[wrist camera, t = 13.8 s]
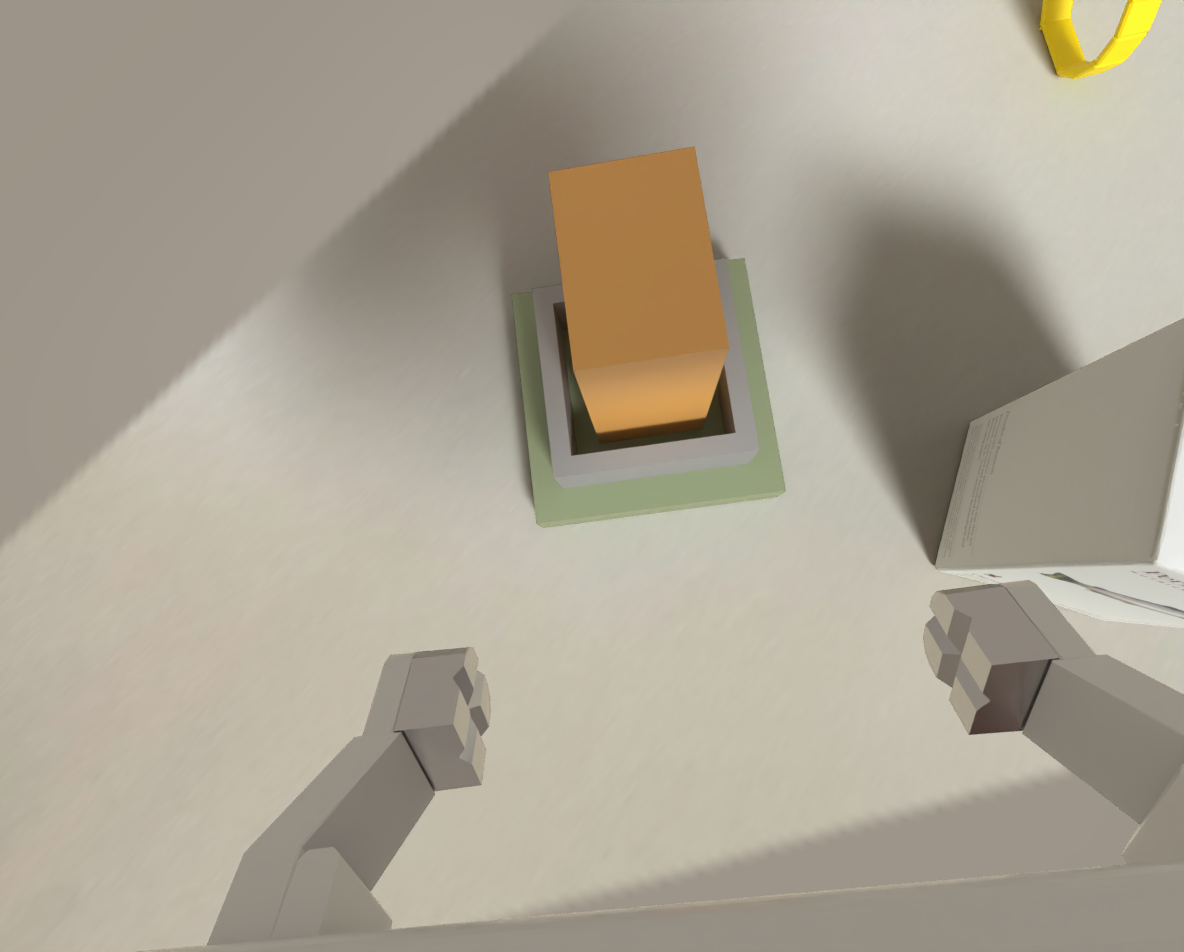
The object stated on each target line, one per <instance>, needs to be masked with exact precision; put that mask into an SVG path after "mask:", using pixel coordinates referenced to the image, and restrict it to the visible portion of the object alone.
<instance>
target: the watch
mask: <svg viewBox="0 0 1184 952" xmlns="http://www.w3.org/2000/svg"><path fill="white" fill-rule="evenodd" d="M1161 1H1162V0H1128V2H1127V4H1126V6H1125V9H1124V11H1123V14H1122V17H1121V19H1120V22H1119V24H1118V27H1117V29H1116V32H1115V35H1114V37H1113V38H1112V39H1111V40H1110V42H1109V43H1108V44H1107V46H1106V47H1105V48H1104V50H1103V51H1102V52H1101V53H1100V55H1099V56H1098V57H1097V59H1096V60H1094V61H1092V62H1087V61H1085V58H1084V55H1083V52H1082V50H1081V47H1080V44H1079V41H1078V38H1077V35H1076V33H1075V30H1074V27H1073V24H1072V21H1071V12H1072V6H1073V0H1043V5H1042V13H1041V20H1040V26H1041V27H1039V30H1042V31H1043V34H1044V37H1045V40H1046V43H1047V46H1048V49H1049V52H1050V55H1051V58H1052V60H1053V63H1054V66H1055V69H1056V72H1057V73H1056V74H1057V75H1059V76H1063V77H1068V78H1072V79H1076V78H1081V77H1086V76H1090V75H1095V74H1099V73H1103V72H1105V71H1107V70H1109V69H1111V68H1113V67H1115V66H1117V65H1119V64H1121V63H1123V61H1124V60H1126V59H1127V58H1128V57H1129V56H1130V54H1131V53H1132V52H1133V51H1134V49H1135V48H1136V47H1137V46H1138V45H1139V43H1140V42H1141V41H1142V40H1143V39H1144V37H1145V36H1146V35H1147V32H1148V31H1149V30H1150V27H1151V25H1152V23H1153V20H1154V18H1155V16H1156V13H1157V11H1158V8H1159V6H1160V4H1161Z"/></svg>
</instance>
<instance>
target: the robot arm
mask: <svg viewBox="0 0 1184 952" xmlns="http://www.w3.org/2000/svg"><path fill="white" fill-rule="evenodd" d="M929 607H930V608H931V610H932V612H933V613H934V615H935V616H934V617H933V618H932V619H931V620H930V621H928V622H927V623H926V624H925V630H924V636H923V640H924V647H925V653H926V656H927V659H928V662H929V664H930V666H931V668H932V670H933V672H934V674H935V676H936V677H937V678H938V679H939V680H941V681H943V682H944V683H946V684H947V685H949V686H950V687H952V691H951V695H950V699H949V701H950V703H951V704H952V706H953V708H954V710H955V711H956V713H957V715H958V717H959V718H960V720H961V722H962V724H963V725H964V727H965V729H966V731H967V732H968V734H969V735H973V734H986V733H1000V732H1013V731H1023V732H1022V734H1024V735H1025V736H1026V737H1027V738H1029V739H1030V740H1031V741H1033V742H1034V743H1035V744H1036V745H1038V746H1039V747H1040V748H1042V749H1043V750H1044V751H1045V752H1047V753H1048V754H1049V755H1051V756H1052V757H1053V758H1055V759H1056V760H1057V761H1058V762H1060V763H1061V764H1062V765H1064V766H1065V767H1066V768H1067V769H1069V770H1070V771H1071V772H1073V773H1074V774H1075V775H1077V776H1078V777H1079V778H1080V779H1082V780H1083V781H1084V782H1086V783H1087V784H1088V785H1089V786H1091V787H1092V788H1093V789H1095V790H1096V791H1097V792H1098V793H1100V794H1101V795H1102V796H1104V797H1105V798H1106V799H1108V800H1109V801H1110V802H1111V803H1113V804H1114V805H1115V806H1117V807H1118V808H1119V809H1121V810H1122V811H1123V812H1124V813H1126V814H1127V815H1128V816H1130V817H1131V818H1132V819H1134V820H1135V821H1136V822H1137V823H1139V824H1140V826H1139V828H1138V829H1137V830H1136V832H1135V833H1134V835H1133V836H1132V838H1131V839H1130V841H1129V842H1128V844H1127V845H1126V847H1125V849H1124V852H1123V854H1122V856H1123V858H1124V859H1125V861H1126V862H1127V864H1123V865H1113V866H1101V867H1089V868H1078V869H1067V870H1056V871H1044V872H1033V873H1021V874H1010V875H998V876H987V877H976V878H965V879H953V880H942V881H930V882H920V883H909V884H908V883H907V884H896V885H885V886H873V887H862V888H850V889H839V890H828V891H816V892H805V893H794V894H782V895H771V896H760V897H748V898H737V899H727V900H726V899H725V900H714V901H703V902H691V903H681V904H669V905H657V906H646V907H635V908H624V909H612V910H601V911H590V912H578V913H567V914H556V915H544V916H533V917H522V918H511V919H499V920H488V921H477V922H465V923H454V924H443V925H432V926H420V927H409V928H398V929H391V926H392V919H391V918H390V916H389V915H388V913H387V912H386V911H385V909H384V908H383V907H382V906H381V904H380V903H379V902H378V901H377V899H376V898H375V897H374V896H373V895H372V893H371V890H372V889H373V887H374V886H375V884H376V883H377V881H378V880H379V878H380V877H381V875H382V874H383V872H384V871H385V869H386V868H387V866H388V865H389V863H390V862H391V860H392V859H393V857H394V856H395V854H396V853H397V851H398V850H399V848H400V847H401V845H402V844H403V842H404V840H405V839H406V837H407V836H408V834H409V833H410V831H411V830H412V828H413V827H414V825H415V824H416V822H417V821H418V819H419V818H420V816H421V815H422V813H423V812H424V810H425V809H426V807H427V806H428V804H429V803H430V801H431V800H432V798H433V797H434V795H435V792H434V791H440V790H448V789H455V788H463V787H471V786H478V785H482V778H483V770H484V762H485V755H486V748H485V746H484V743H483V741H482V738H481V736H482V735H483V733H484V732H485V731H486V730H487V728H488V727H489V722H490V712H491V710H490V693H489V688H488V683H487V680H486V678H485V675H484V674H482V673H481V672H479V671H477V665H478V657H477V655H476V653H475V650H474V648H473V647H466V648H455V649H444V650H433V651H422V652H414V653H404V654H394V655H390V656H389V658H388V659H387V660H386V662H385V663H384V666H383V669H382V673H381V676H380V679H379V683H378V686H377V689H376V692H375V696H374V699H373V702H372V705H371V709H370V712H369V715H368V719H367V722H366V725H365V728H364V732H363V735H362V736H358V737H354V738H353V739H352V740H351V741H350V742H349V743H348V744H347V745H346V746H345V747H344V748H343V749H342V750H341V752H340V753H339V754H338V755H337V756H336V757H335V758H334V759H333V760H332V761H331V762H330V763H329V764H328V765H327V766H326V767H325V768H324V769H323V770H322V772H321V773H320V774H319V775H318V776H317V777H316V778H315V779H314V780H313V781H312V782H311V783H310V784H309V785H308V786H307V787H306V788H305V789H304V791H303V792H302V793H301V794H300V795H299V796H298V797H297V798H296V799H295V800H294V801H293V802H292V803H291V804H290V805H289V806H288V807H287V808H286V809H285V811H284V812H283V813H282V814H281V815H280V816H279V817H278V818H277V819H276V820H275V821H274V822H273V823H272V824H271V825H270V826H269V827H268V828H267V830H266V831H265V832H264V833H263V834H262V835H261V836H260V837H259V838H258V839H257V840H256V841H255V842H254V843H253V844H252V845H251V846H250V847H249V848H248V850H247V851H246V852H245V853H244V855H243V857H242V860H241V862H240V865H239V867H238V870H237V872H236V874H235V877H234V879H233V882H232V884H231V887H230V889H229V892H228V894H227V897H226V899H225V902H224V904H223V906H222V909H221V911H220V914H219V916H218V919H217V921H216V924H215V926H214V929H213V931H212V934H211V936H210V938H209V941H208V943H207V945H206V946H195V947H183V948H172V949H161V950H149V951H138V952H1184V695H1183V694H1182V693H1180V692H1178V691H1176V690H1174V689H1172V688H1170V687H1168V686H1166V685H1164V684H1162V683H1160V682H1158V681H1156V680H1155V679H1153V678H1151V677H1149V676H1147V675H1145V674H1143V673H1141V672H1139V671H1137V670H1135V669H1133V668H1131V667H1129V666H1128V665H1126V664H1124V663H1122V662H1120V661H1118V660H1116V659H1114V658H1112V657H1110V656H1108V655H1096V654H1095V653H1094V651H1093V650H1092V649H1091V648H1090V647H1089V646H1088V644H1087V643H1086V642H1085V641H1084V640H1083V639H1082V637H1081V636H1080V635H1079V634H1078V633H1077V631H1076V630H1075V629H1074V628H1073V627H1072V626H1071V624H1070V623H1069V622H1068V621H1067V620H1066V618H1065V617H1064V616H1063V615H1062V614H1061V613H1060V611H1059V610H1058V609H1057V608H1056V607H1055V605H1054V604H1053V603H1052V602H1051V601H1050V600H1049V598H1048V597H1047V596H1046V595H1045V594H1044V593H1043V591H1042V590H1041V589H1040V588H1039V587H1038V585H1037V584H1035V583H1034V582H1032V581H1030V580H1023V581H1015V582H1006V583H998V584H987V585H979V586H971V587H964V588H956V589H948V590H941V591H936V592H935V593H934V595H933V596H932V598H931V602H930V606H929Z"/></svg>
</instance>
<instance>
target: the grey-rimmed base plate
mask: <svg viewBox="0 0 1184 952" xmlns="http://www.w3.org/2000/svg"><path fill="white" fill-rule="evenodd" d="M714 262H715V267H716V273H717V279H718V285H719V291H720V296H721V302H722V308H723V314H724V320H725V325H726V331H727V337H728V343H729V350H728V353H727V356H726V359H725V362H724V365H723V368H722V371H721V374H720V377H719V380H718V383H717V386H716V389H715V392H714V395H713V398H712V401H711V404H710V407H709V410H708V413H707V416H706V419H705V422H704V425H703V428H702V429H698V430H691V431H685V432H678V433H671V434H664V435H657V436H650V437H643V438H636V439H629V440H622V441H615V442H608V443H601V444H600V442H599V439H598V437H597V434H596V431H595V429H594V426H593V423H592V420H591V418H590V415H589V412H588V409H587V407H586V404H585V401H584V399H583V396H582V393H581V390H580V388H579V385H578V382H577V380H576V377H575V374H574V371H573V364H572V356H571V348H570V340H569V332H568V324H567V316H566V309H565V301H564V293H563V285H562V284H559V285H553V286H547V287H540V288H534V289H532V292H526V293H520V294H513V295H512V302H513V311H514V320H515V330H516V339H517V348H518V357H519V367H520V376H521V385H522V395H523V404H524V413H525V422H526V432H527V441H528V450H529V459H530V469H531V478H532V487H533V497H534V506H535V515H536V524H538V525H540V526H542V527H544V528H545V527H553V526H560V525H568V524H576V523H583V522H591V521H598V520H606V519H613V518H621V517H628V516H636V515H644V514H651V513H659V512H666V511H674V510H681V509H689V508H696V507H704V506H712V505H719V504H727V503H734V502H742V501H749V500H757V499H764V498H772V497H777V496H779V495H780V494H782V493H783V492H785V491H786V489H785V483H784V477H783V472H782V466H781V461H780V455H779V449H778V444H777V438H776V433H775V427H774V421H773V416H772V410H771V405H770V399H769V393H768V388H767V382H766V377H765V371H764V365H763V360H762V354H761V349H760V343H759V337H758V332H757V326H756V321H755V315H754V309H753V304H752V298H751V293H750V287H749V282H748V276H747V270H746V265H745V259H744V258H740V259H734V260H728V261H727V259H726V258H723V259H717V260H714Z"/></svg>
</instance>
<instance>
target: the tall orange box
mask: <svg viewBox="0 0 1184 952" xmlns="http://www.w3.org/2000/svg"><path fill="white" fill-rule="evenodd" d="M548 174H549V182H550V190H551V198H552V206H553V214H554V222H555V230H556V237H557V245H558V253H559V261H560V269H561V277H562V285H563V293H564V301H565V309H566V316H567V324H568V332H569V340H570V348H571V356H572V364H573V371H574V374H575V377H576V380H577V382H578V385H579V388H580V390H581V393H582V396H583V399H584V401H585V404H586V407H587V409H588V412H589V415H590V418H591V420H592V423H593V426H594V429H595V431H596V434H597V437H598V439H599V442H600V444H601V443H608V442H615V441H622V440H629V439H636V438H643V437H650V436H657V435H664V434H671V433H678V432H685V431H691V430H698V429H702V428H703V425H704V422H705V419H706V416H707V413H708V410H709V407H710V404H711V401H712V398H713V395H714V392H715V389H716V386H717V383H718V380H719V377H720V374H721V371H722V368H723V365H724V362H725V359H726V356H727V353H728V350H729V343H728V337H727V331H726V325H725V320H724V314H723V308H722V302H721V296H720V291H719V285H718V279H717V273H716V267H715V262H714V256H713V250H712V244H711V239H710V233H709V227H708V221H707V215H706V210H705V204H704V198H703V192H702V187H701V181H700V175H699V169H698V163H697V158H696V152H695V147H689V148H683V149H678V150H672V151H666V152H660V153H655V154H649V155H643V156H637V157H632V158H626V159H620V160H614V161H609V162H603V163H597V164H592V165H586V166H580V167H574V168H569V169H563V170H557V171H551V172H548Z"/></svg>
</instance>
